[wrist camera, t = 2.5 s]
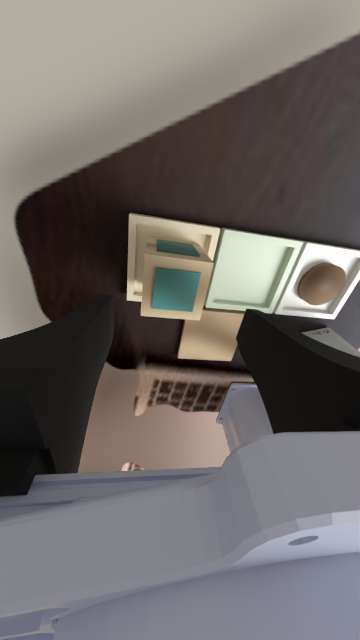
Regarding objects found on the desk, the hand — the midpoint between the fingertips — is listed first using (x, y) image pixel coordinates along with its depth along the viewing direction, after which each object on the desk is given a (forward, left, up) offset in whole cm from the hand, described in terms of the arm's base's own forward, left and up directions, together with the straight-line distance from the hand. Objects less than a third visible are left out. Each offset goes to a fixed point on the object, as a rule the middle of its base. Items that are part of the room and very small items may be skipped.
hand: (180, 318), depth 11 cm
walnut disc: (0, -16, -10) cm, 19 cm away
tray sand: (0, 0, -10) cm, 10 cm away
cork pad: (-8, -6, -10) cm, 14 cm away
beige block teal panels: (0, 0, -10) cm, 10 cm away
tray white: (0, -16, -10) cm, 19 cm away
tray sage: (0, -8, -10) cm, 13 cm away
